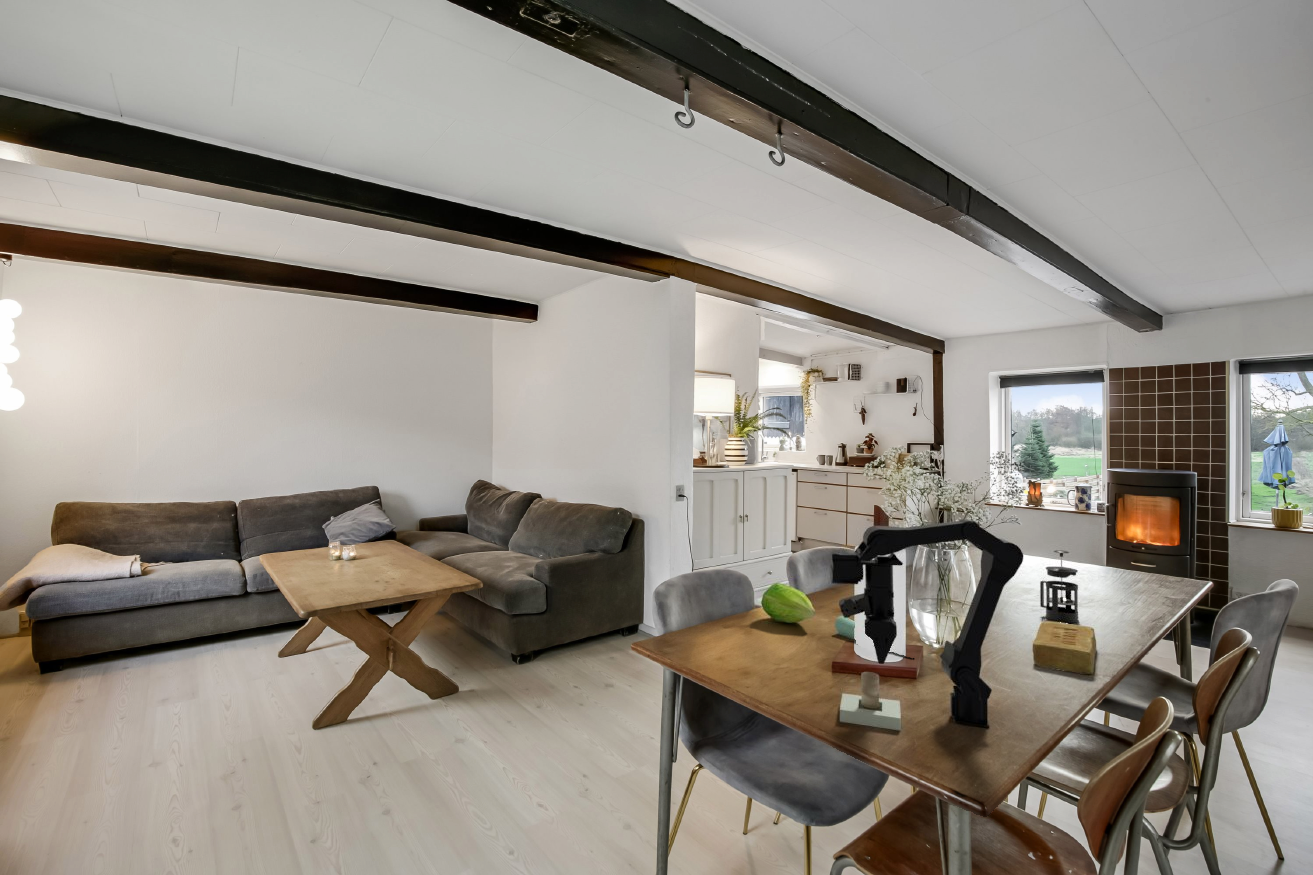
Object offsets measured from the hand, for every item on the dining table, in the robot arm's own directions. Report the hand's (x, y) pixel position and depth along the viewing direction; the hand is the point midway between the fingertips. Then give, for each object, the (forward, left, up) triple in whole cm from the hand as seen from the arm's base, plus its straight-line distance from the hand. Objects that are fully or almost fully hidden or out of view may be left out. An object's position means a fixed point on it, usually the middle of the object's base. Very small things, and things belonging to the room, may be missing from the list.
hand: (880, 656), depth 134 cm
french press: (-56, -96, -13) cm, 112 cm away
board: (+2, +3, -12) cm, 13 cm away
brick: (-48, -55, -13) cm, 74 cm away
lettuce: (+28, -60, -13) cm, 68 cm away
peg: (+2, +3, -12) cm, 13 cm away
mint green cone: (+2, -48, -13) cm, 49 cm away
